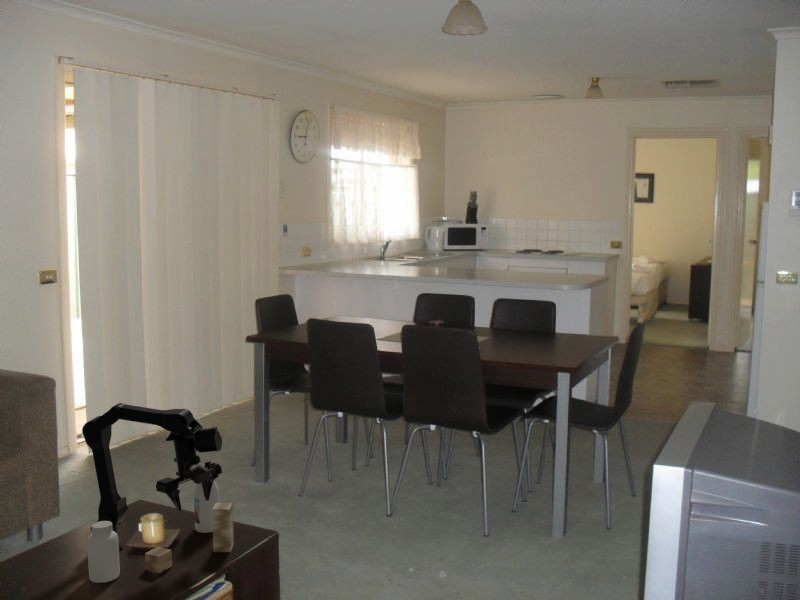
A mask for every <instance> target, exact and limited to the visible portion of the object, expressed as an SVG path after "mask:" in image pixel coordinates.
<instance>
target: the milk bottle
mask: <svg viewBox="0 0 800 600" xmlns="http://www.w3.org/2000/svg"><path fill="white" fill-rule="evenodd" d="M193 493H194V494H193V498H194V499H193V503H194V504H193V505H194V506H193V507H194V529H195V531H196V532H197V533H202V534H206V533H209V534H210V533H213V515H212V509H213V507H214V505H215V503H221V502H220V490H219V487H218V485H217V482H216V479H215V480H214V481H213V484H212V488H211V492H210V497H209V501H206V499H205V496H204V492H203V488H202V483H200V484H196V486H195V488H194V492H193Z"/></svg>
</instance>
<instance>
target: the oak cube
mask: <svg viewBox="0 0 800 600" xmlns="http://www.w3.org/2000/svg"><path fill="white" fill-rule="evenodd" d="M144 555H145V556H144V557H145V558H144V559H145V570H146V569H147V570H149V571H148V572H151V571H153V572H152V573H154V572H156V573H155V574H157V573H160V574H161V572H162V573H163V571H164V570H166V569H167V570H169V569H170V567H171V566H172V567H173V551H172V549H168V548H165V547H162V546H157V547H154V548H152V549H151V550H148V551H147V552H145V553H144ZM172 567H171V568H172ZM168 568H169V569H168ZM147 570H146V571H147ZM167 570H166V571H167ZM164 572H165V571H164Z"/></svg>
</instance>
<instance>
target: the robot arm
mask: <svg viewBox="0 0 800 600" xmlns="http://www.w3.org/2000/svg"><path fill="white" fill-rule="evenodd" d="M119 420H122V421H129V422H134V423H135V422H136V423H140V424H141V423H142V424H147V425H152V426H153V425H154V426H158V427H160V428H161V429H163V430H165V431H167V432H169V434H168V436H167V437H166V438H165V441H166V442H172V441H173V446H174V447H173V448H174V452H175V457H174V458H173V461H174V463H176V465H177V466H176V467H177V471H176V472H175V474H176V475H175V476H178V477H176V478H174V477H169V476H167V477H164V478H162V479H159V480H157V482H156V483H155V488H156V489H155V490H156V492H160V493H163V494H166V496H167V497H168V498H169V499H170V501H171V503H172V504H173V505H174V507H175V508H176V510H177V512H180V513H181V512H182V505H181V499H180V492H181V490H180V489H179V487H180V485H182V484H185V483H187V482H190V481H192V482H193V483H194V484H196V485H197V484H200V483H202V488H203V492H204V496H205V499H206V501H209V497H210V492H211V488H212V484H213V481H214V480H215V481H216V480H217V478H219V477H220V476H219V475H221V474H223V467H222V466H221V464H219V463H217V462H214V461H213V460H212V459H211V460H208V461H206V462H202V461H201V457H200V455H197V452H198V453H211V452H212V453H213V452H220V451H221V450H222V446H223V439H222V438H223V437H222V435H221V433H220V431H219V430H218V426H212V427H209V428H203V426H202V425H201V423H199V422H198V420H197V419H195V417H194V414H193V413H192V412H191V410H190V409H186V408H171V409H158V408H150V407H146V406H145V407H144V406H139V405H132V404H125V403H123V402H119V403H118V402H117V404H114V405H113V406H111V407H110V409H108V410H107V411H106V412H105V413H103V414H102V415H97V416H96V417H94V418H92V419H90V420H89V421H87V422H85V423H84V425H83V426H82V429H81V433H82V435H83V439H84V441H85V444H86V446H88V448H89V449H90V451H91V452H92V457H93V463H94V468H95V474H96V475H95V476H96V480H97V484H98V486H97V487H98V491H99V495H100V500H99V504H98V510H97V515H98V517H97V519H98V520H96V522H100V521H110V522H112V527H113V528H112V529H113V530H112V531H114V532H116V533H117V534H118V526H120V525H121V523H122V521H123V520H124V519H125V518H126V516H127V514H128V512H127V511H128V510H129V507H128V504H127V497H126V496H122V497H121V495H120V494H119V493H118V489H117V482H116V475H115V471H114V466H113V465H114V464H113V460H112V455H111V449H110V443H111V439H112V429H113V428H112V426H114V424H116V422H118V421H119ZM89 529H90V531H91V533H92V528H91V527H90V528H89ZM118 545H119V551H121V550H123V549H124V547H123V546H122V545H120V544H118Z"/></svg>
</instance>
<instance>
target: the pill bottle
mask: <svg viewBox="0 0 800 600" xmlns="http://www.w3.org/2000/svg"><path fill="white" fill-rule="evenodd" d="M90 528H92V532H91V534H90V535H89V536H88V537H87V540H86V547H87V548H86V549H87V565H88V567H87V568H88V576H89V580H90V581H91V583H96V584H103V583H108V582H112V581H114V580H116V579H118V577H120V574H121V569H120V567H121V566H120V565H121V564H120V550H119V545H120V544H119V535H118V532H117V533H116V532H114V531H112V530H113V529H112V528H113V527H112V522H110V521H100V522H97V521H96V522H94V523H93V524H92V525H91V527H90Z"/></svg>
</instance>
